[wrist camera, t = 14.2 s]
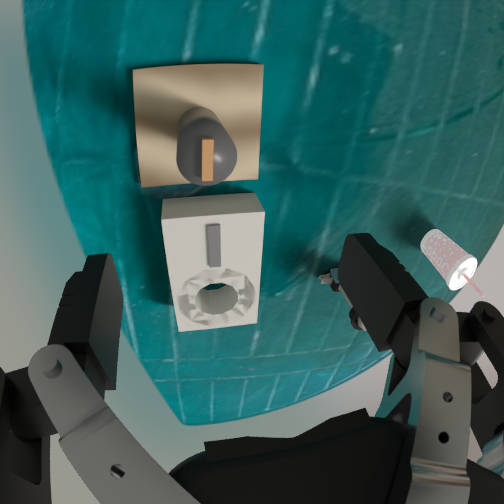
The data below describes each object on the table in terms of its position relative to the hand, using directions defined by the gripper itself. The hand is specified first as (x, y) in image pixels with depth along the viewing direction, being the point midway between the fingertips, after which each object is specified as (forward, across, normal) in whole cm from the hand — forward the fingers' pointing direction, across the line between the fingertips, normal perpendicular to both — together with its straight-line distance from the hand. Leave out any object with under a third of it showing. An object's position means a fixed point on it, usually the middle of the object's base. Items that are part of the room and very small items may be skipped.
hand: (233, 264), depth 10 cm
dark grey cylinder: (+22, 0, 0) cm, 22 cm away
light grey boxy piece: (+22, -1, +16) cm, 28 cm away
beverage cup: (+23, -36, +17) cm, 46 cm away
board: (+22, 0, 0) cm, 23 cm away
